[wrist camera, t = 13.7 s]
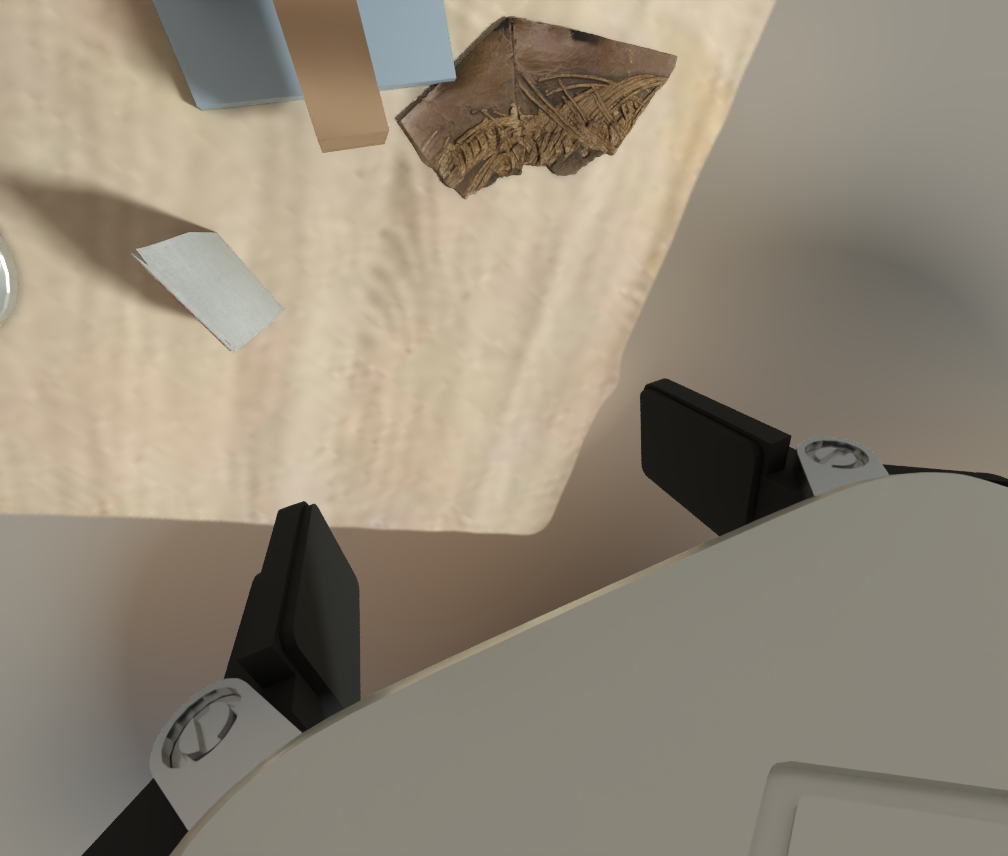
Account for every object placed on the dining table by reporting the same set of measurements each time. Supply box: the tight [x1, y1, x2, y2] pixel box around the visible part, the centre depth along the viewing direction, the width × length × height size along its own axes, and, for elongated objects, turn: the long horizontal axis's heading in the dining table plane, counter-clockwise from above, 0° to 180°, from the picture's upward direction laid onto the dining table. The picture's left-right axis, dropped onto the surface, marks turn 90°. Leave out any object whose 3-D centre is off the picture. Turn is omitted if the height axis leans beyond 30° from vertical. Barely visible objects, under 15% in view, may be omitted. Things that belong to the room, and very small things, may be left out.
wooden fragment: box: [397, 18, 677, 199], centre depth 33 cm, size 26×11×1 cm, turn 102°
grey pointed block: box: [131, 232, 285, 352], centre depth 28 cm, size 4×7×10 cm, turn 30°
